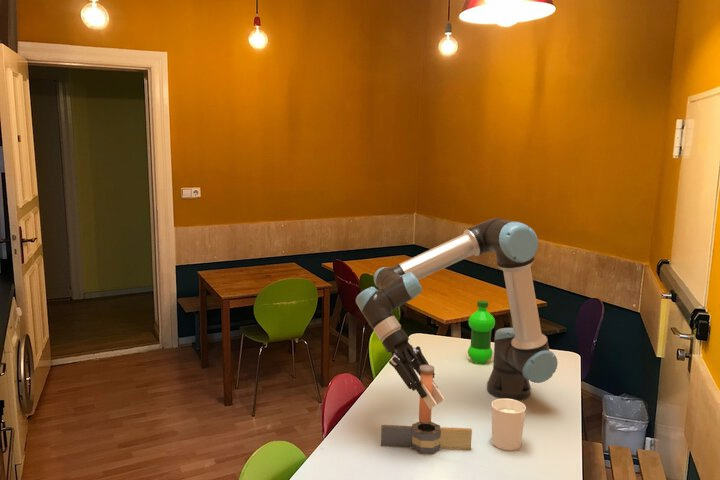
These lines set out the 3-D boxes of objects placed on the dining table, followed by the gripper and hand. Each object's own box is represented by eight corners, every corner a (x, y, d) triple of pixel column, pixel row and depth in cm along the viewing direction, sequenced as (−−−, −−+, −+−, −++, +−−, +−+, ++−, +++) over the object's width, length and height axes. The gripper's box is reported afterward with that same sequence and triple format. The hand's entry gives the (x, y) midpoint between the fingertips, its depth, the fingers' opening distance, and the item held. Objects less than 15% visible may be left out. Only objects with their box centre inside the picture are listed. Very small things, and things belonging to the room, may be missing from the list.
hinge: (468, 441, 175) (469, 423, 174) (472, 456, 167) (473, 436, 166) (381, 438, 176) (381, 419, 175) (380, 452, 168) (381, 432, 167)
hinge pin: (431, 417, 172) (433, 364, 170) (432, 423, 168) (434, 370, 166) (417, 416, 172) (419, 364, 170) (417, 423, 168) (419, 369, 166)
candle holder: (504, 455, 168) (507, 415, 166) (482, 439, 177) (484, 401, 175) (530, 447, 172) (533, 409, 170) (507, 432, 181) (510, 396, 179)
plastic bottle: (466, 356, 246) (468, 298, 242) (491, 357, 245) (495, 299, 241) (467, 365, 236) (470, 304, 232) (493, 366, 235) (497, 306, 231)
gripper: (400, 335, 183) (443, 400, 175) (367, 348, 170) (412, 420, 163) (415, 322, 179) (460, 388, 171) (382, 334, 166) (430, 407, 158)
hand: (437, 403), depth 167 cm, fingers closed on hinge pin, 3 cm apart
